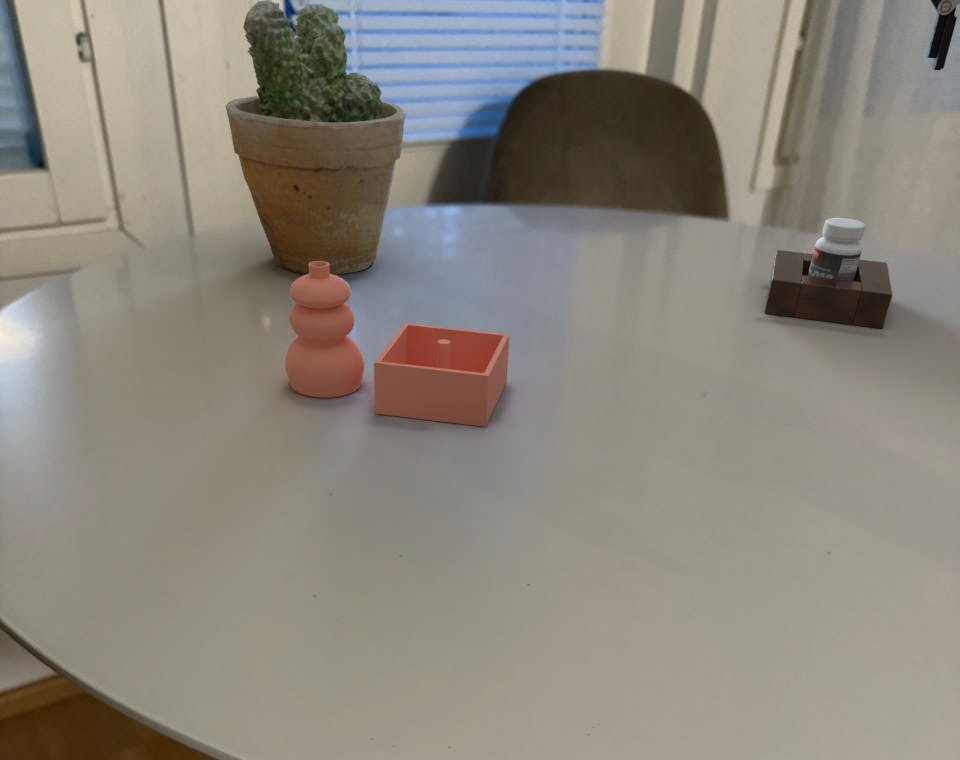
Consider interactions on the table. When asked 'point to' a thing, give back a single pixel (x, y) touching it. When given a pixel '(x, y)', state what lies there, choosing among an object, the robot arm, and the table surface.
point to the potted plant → (314, 142)
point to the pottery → (393, 358)
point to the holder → (828, 292)
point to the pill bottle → (838, 250)
